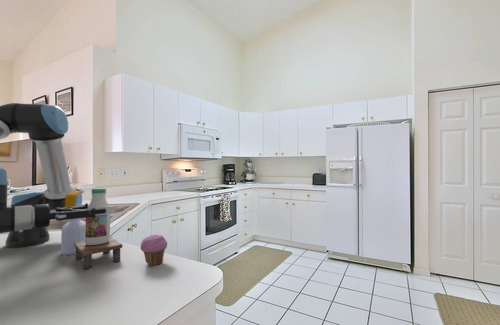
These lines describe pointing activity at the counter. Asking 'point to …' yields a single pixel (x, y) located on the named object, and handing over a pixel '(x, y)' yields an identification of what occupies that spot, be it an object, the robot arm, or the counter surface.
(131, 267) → the counter surface
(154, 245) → the cupcake
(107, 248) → the pegged shelf
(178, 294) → the counter surface
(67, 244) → the soap bottle
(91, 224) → the milk bottle
